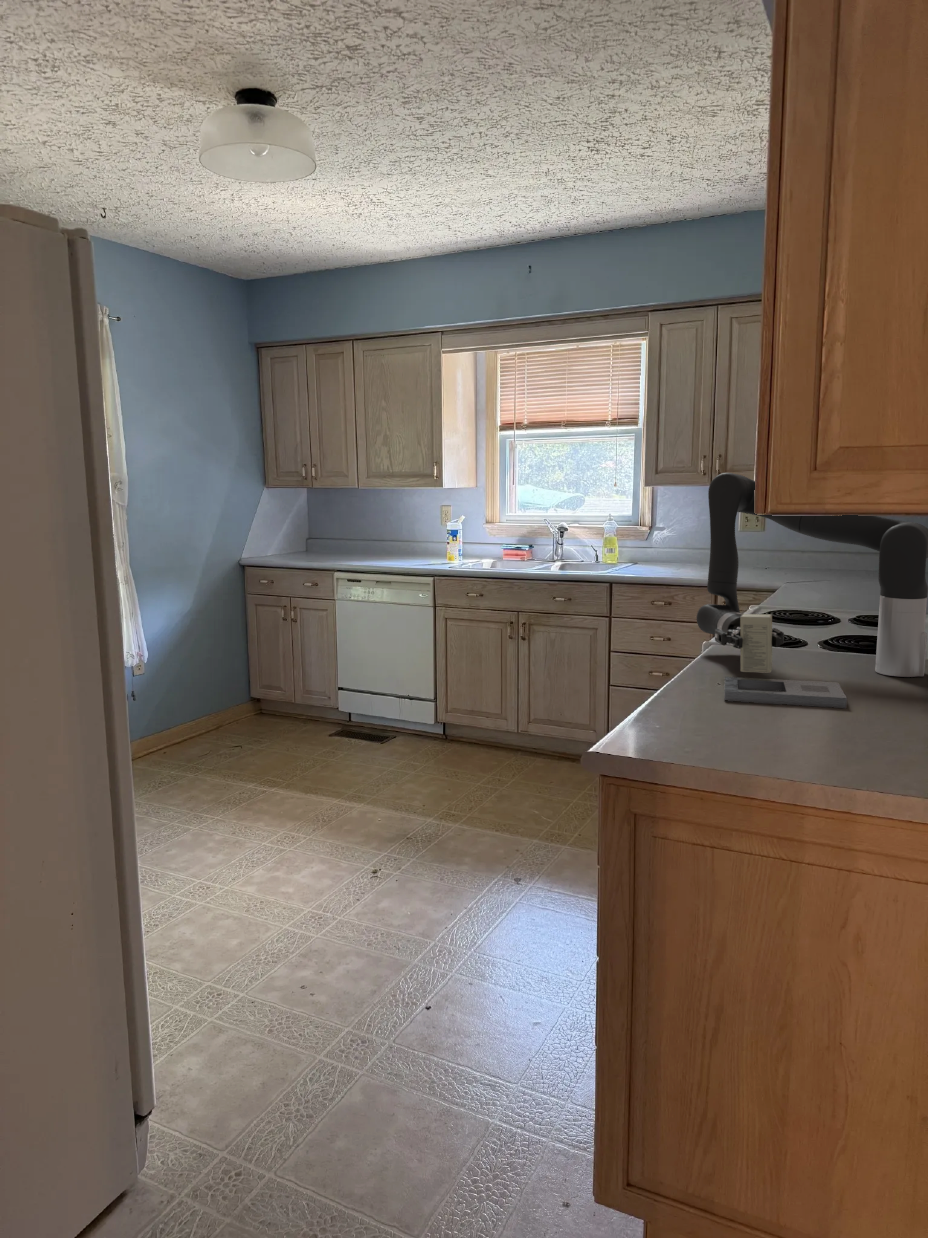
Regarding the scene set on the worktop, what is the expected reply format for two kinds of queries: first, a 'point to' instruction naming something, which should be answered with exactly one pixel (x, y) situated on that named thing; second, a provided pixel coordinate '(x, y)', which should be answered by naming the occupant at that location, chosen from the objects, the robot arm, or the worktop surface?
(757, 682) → the grey recessed board
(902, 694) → the worktop surface
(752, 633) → the skincare box
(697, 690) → the worktop surface
